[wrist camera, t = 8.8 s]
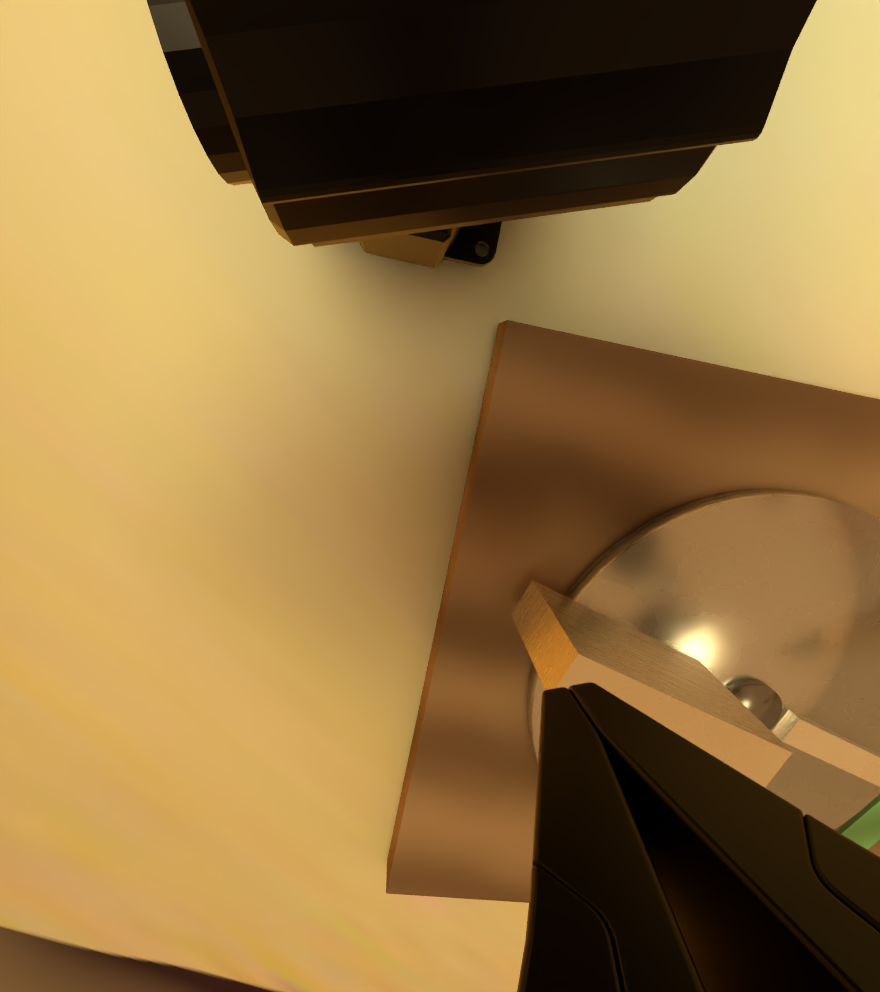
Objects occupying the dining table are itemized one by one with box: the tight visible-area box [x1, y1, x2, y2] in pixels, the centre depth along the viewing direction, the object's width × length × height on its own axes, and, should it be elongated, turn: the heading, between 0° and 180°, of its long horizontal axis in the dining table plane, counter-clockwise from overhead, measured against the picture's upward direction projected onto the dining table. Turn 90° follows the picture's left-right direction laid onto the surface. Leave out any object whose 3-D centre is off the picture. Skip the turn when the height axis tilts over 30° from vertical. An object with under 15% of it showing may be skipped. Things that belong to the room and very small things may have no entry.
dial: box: [511, 489, 880, 829], centre depth 19 cm, size 22×18×6 cm
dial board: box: [386, 320, 880, 903], centre depth 23 cm, size 26×26×2 cm
